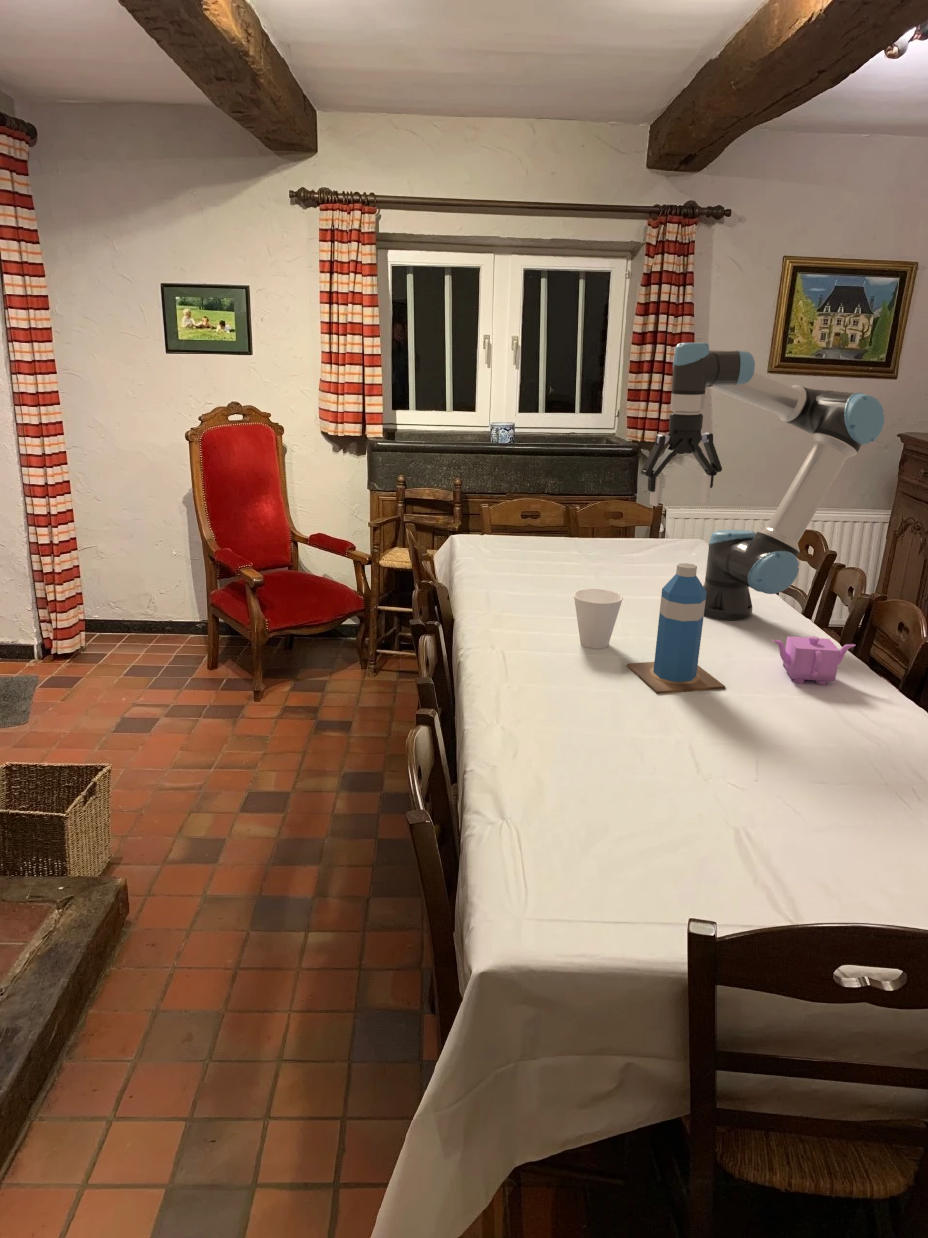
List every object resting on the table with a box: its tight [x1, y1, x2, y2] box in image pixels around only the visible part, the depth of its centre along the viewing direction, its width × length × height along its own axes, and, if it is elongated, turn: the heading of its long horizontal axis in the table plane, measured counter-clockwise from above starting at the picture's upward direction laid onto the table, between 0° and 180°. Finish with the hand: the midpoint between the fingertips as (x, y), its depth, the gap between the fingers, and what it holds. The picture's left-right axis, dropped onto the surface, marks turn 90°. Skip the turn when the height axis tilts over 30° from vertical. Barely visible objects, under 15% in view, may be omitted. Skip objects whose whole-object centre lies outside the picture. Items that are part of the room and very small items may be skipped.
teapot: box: [771, 635, 856, 686], centre depth 187 cm, size 18×13×10 cm
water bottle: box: [653, 562, 707, 682], centre depth 182 cm, size 9×9×25 cm
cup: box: [573, 588, 624, 650], centre depth 204 cm, size 12×12×12 cm
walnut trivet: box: [626, 661, 726, 695], centre depth 187 cm, size 16×16×1 cm
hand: (679, 503), depth 201 cm, fingers open, 13 cm apart
